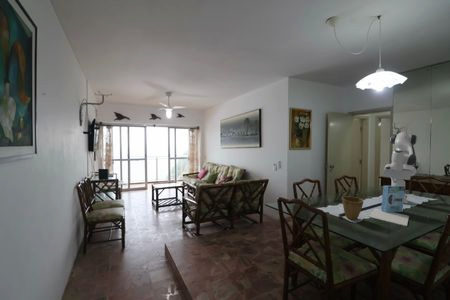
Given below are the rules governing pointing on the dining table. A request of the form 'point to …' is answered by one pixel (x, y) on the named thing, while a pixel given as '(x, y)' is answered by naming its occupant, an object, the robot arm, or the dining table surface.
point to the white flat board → (390, 217)
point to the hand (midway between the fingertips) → (395, 182)
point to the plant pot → (352, 207)
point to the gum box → (392, 198)
